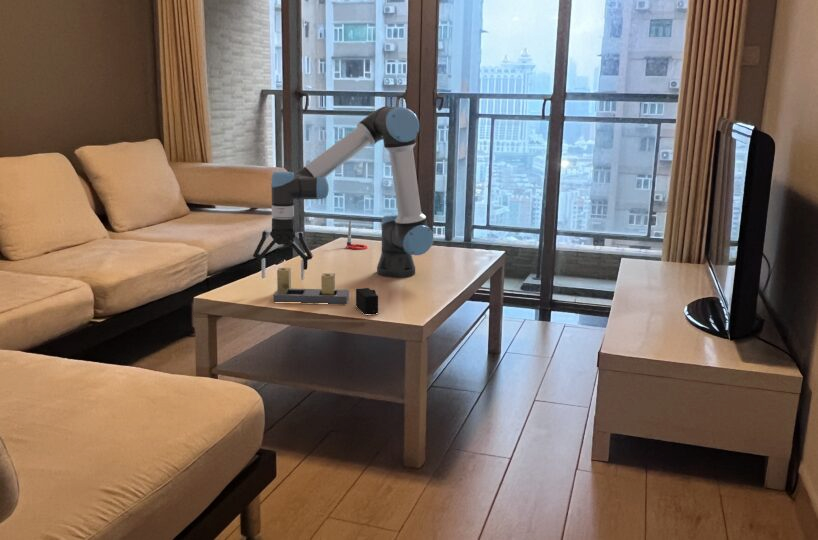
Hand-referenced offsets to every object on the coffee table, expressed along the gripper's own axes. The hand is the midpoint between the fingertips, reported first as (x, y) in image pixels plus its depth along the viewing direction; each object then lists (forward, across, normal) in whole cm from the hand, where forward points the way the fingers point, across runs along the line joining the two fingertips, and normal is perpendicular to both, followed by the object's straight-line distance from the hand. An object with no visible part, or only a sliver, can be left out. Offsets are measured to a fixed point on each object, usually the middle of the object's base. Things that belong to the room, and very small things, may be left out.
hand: (283, 278), depth 266 cm
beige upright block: (+5, +17, -10) cm, 20 cm away
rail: (+6, +11, -10) cm, 16 cm away
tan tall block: (+6, 0, 0) cm, 6 cm away
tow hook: (+5, +19, +82) cm, 85 cm away
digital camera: (+6, +31, -20) cm, 37 cm away
